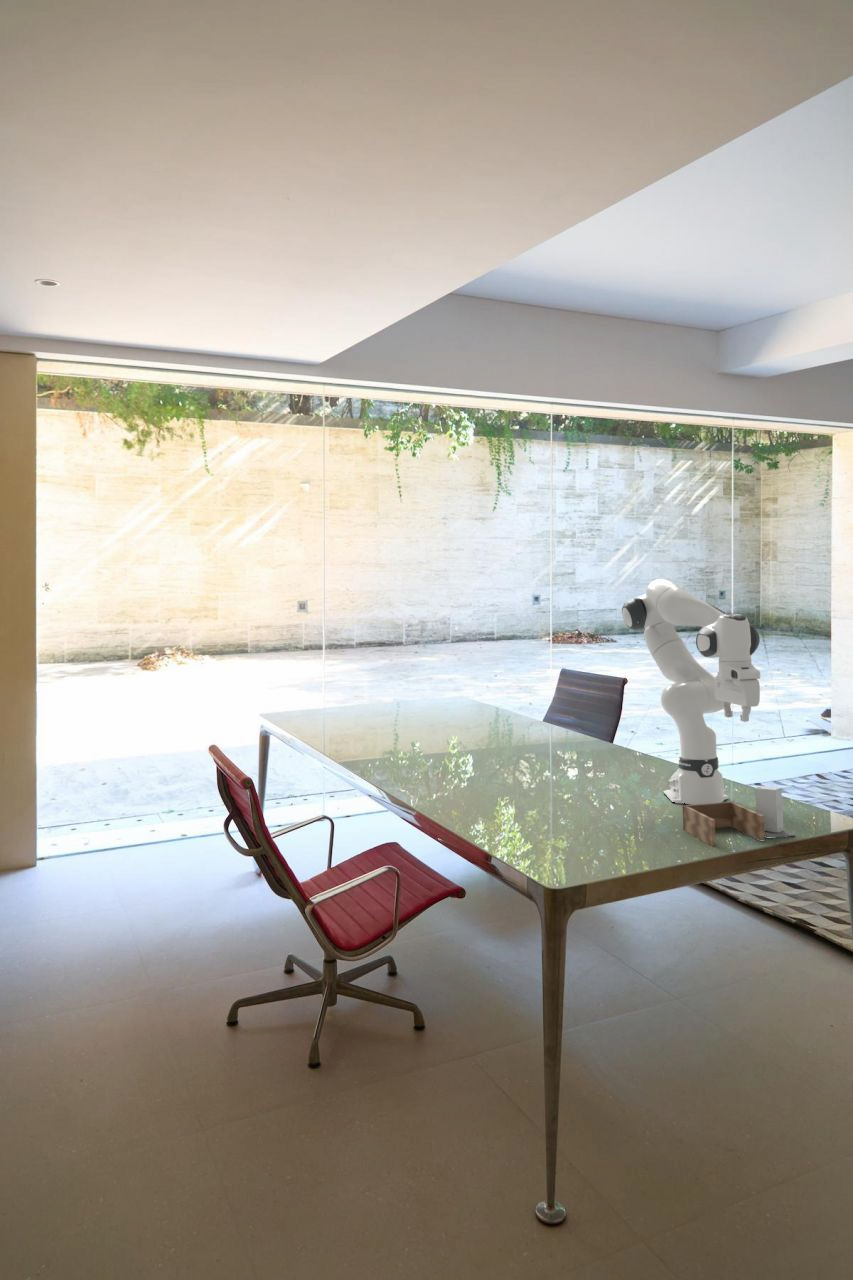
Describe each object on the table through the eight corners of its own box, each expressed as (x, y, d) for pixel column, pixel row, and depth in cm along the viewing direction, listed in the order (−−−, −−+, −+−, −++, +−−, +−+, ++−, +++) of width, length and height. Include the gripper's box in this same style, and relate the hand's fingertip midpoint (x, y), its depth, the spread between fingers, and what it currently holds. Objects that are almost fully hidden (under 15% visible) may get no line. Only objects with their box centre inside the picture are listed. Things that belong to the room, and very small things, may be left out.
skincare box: (784, 830, 258) (782, 787, 257) (777, 833, 255) (776, 790, 254) (762, 827, 262) (761, 784, 261) (755, 830, 259) (754, 787, 258)
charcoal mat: (746, 828, 264) (746, 826, 264) (772, 826, 265) (772, 824, 265) (767, 838, 252) (767, 837, 252) (795, 836, 253) (795, 834, 253)
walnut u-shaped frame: (683, 829, 265) (682, 805, 265) (732, 825, 267) (732, 801, 267) (712, 846, 247) (711, 820, 247) (764, 841, 249) (763, 815, 249)
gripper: (708, 668, 273) (709, 715, 274) (742, 674, 253) (743, 724, 253) (728, 667, 274) (729, 714, 275) (763, 672, 254) (764, 723, 254)
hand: (736, 719), depth 264 cm, fingers open, 8 cm apart
